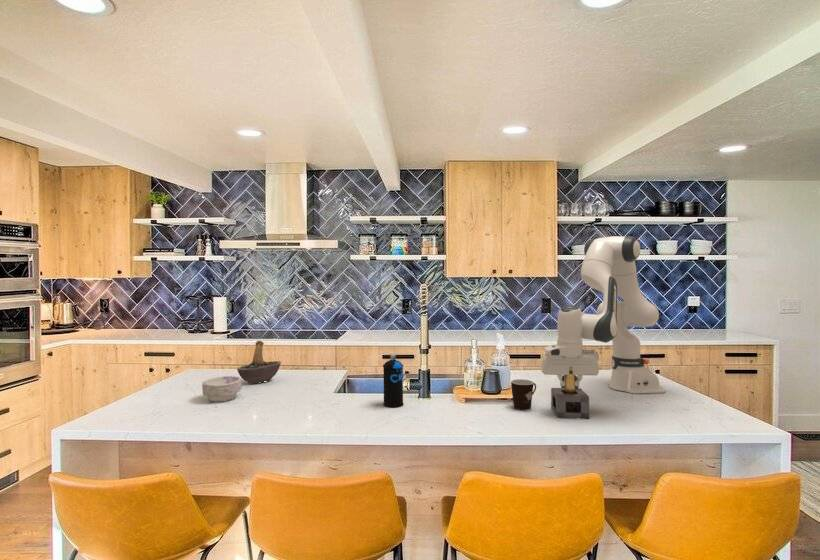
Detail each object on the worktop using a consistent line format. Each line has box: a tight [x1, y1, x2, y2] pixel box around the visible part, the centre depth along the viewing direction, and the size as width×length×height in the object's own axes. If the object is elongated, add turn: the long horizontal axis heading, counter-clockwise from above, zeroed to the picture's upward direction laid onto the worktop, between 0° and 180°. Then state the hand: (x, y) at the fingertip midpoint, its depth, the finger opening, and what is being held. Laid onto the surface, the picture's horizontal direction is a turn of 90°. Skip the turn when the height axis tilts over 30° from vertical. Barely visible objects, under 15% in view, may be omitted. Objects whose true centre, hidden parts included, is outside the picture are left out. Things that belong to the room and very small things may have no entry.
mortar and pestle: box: [236, 340, 282, 384], centre depth 214 cm, size 15×17×20 cm
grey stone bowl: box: [201, 375, 243, 403], centre depth 188 cm, size 15×15×8 cm
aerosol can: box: [382, 353, 405, 409], centre depth 178 cm, size 8×8×20 cm
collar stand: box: [550, 387, 590, 420], centre depth 166 cm, size 11×11×8 cm
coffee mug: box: [510, 378, 537, 411], centre depth 174 cm, size 12×9×10 cm
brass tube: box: [565, 367, 575, 410], centre depth 166 cm, size 4×4×16 cm
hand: (569, 386), depth 166 cm, fingers closed on brass tube, 3 cm apart
